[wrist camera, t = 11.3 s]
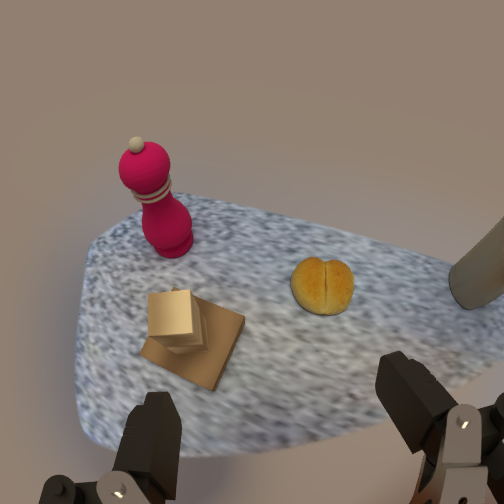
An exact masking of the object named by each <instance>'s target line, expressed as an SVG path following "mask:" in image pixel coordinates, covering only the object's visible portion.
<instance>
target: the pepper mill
mask: <svg viewBox="0 0 504 504" xmlns="http://www.w3.org/2000/svg"><path fill="white" fill-rule="evenodd" d="M128 147H129V149H128V150H127V151H125V153H124V154H123V155H122V157H121V159H120V162H119V175H120V178H121V180H122V182H123V184H124V185H125V186H126V187H128V188H129V189H131V192H132V193H133V196H134V198H135V199H136V200H137V201H138V202H141V203H142V206H143V215H142V228H143V232H144V235H145V237H146V239H147V241H148V242H149V243H150V244H152V245H153V246H154V247H155V249H156V251H157V252H158V253H159V254H160V255H161V256H163V257H166V258H176V257H180V256H182V255H183V254H185V253H186V252H187V251H188V250H189V249H190V247H191V245H192V243H193V234H192V231H191V228H192V220H191V216H190V214H189V212H188V210H187V209H186V208H185V206H184V205H183V204H182V203H181V202H179V201H178V200H176V199H175V198H174V197H173V196H172V194H171V192H170V189H171V186H172V182H171V178H170V175H169V170H170V159H169V156H168V154H167V153H166V151H165V150H164V148H163V147H161V146H160V145H158V144H156V143H153V142H144V140H143V139H142V138H141V137H134V138H132V139H131V140H130V141H129V143H128Z"/></svg>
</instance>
